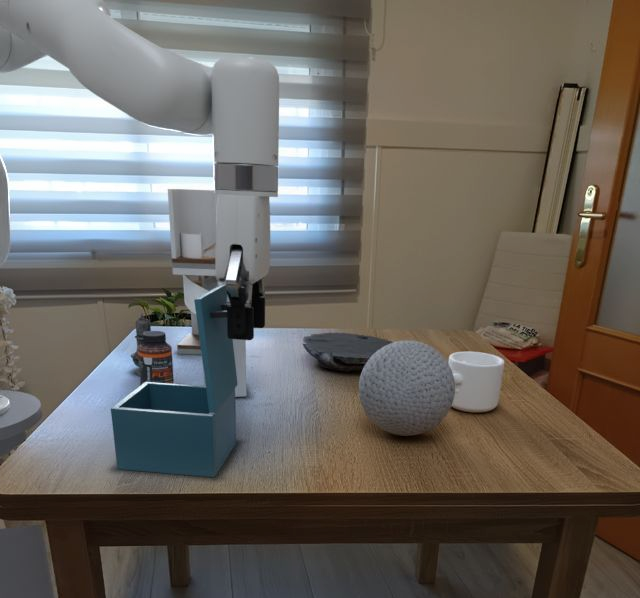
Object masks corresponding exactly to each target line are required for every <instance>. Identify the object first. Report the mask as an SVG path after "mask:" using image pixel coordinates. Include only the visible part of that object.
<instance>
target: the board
mask: <svg viewBox="0 0 640 598" xmlns="http://www.w3.org/2000/svg"><path fill="white" fill-rule="evenodd" d="M302 341H303V343H302V346H303V348H304V349H305V351H306V352H307V353H308V354H309V355H310V356H311V357H313V358H314V359H315V360H317V361H318V365H319V366H320V367H322V368H325V369H327V370H332V371H338V372H351V371H353V372H355V371H362V370H363V368H364V366H365V364H366V363H367V361H368V360H369V359H370V357H371V356H372V355H373V354H374V353H375V352H377V351H378V350H379V349H381V348H382V347H384V346H386V345H388V344H391V343H394V342H395V341H394V342H393V341H392V340H389V339H385V338H381V337H377V336H372V335H365V334H358V333H350V332H323V333H312V334H311V335H310V336H309V335H307V336H304V337H303V338H302Z"/></svg>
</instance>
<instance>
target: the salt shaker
mask: <svg viewBox="0 0 640 598" xmlns="http://www.w3.org/2000/svg"><path fill="white" fill-rule="evenodd" d="M147 331H152V327H151V321H150V320H149V319H147V318H145V315H144V313H141V314H140V318H138V319H137V320H136V321H135V333H136V335H134V339H136V351H135V352H133V353H131V354H130V358H131V359H132V362H133V364H134V365H135V366H136V367H137V368H135V369H134V370H133V374H134V375H136V376H140V371H139V357H138V348H139V346H140V345H141V344H142V343H143V335H142V334H143V333H144V332H147Z"/></svg>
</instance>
